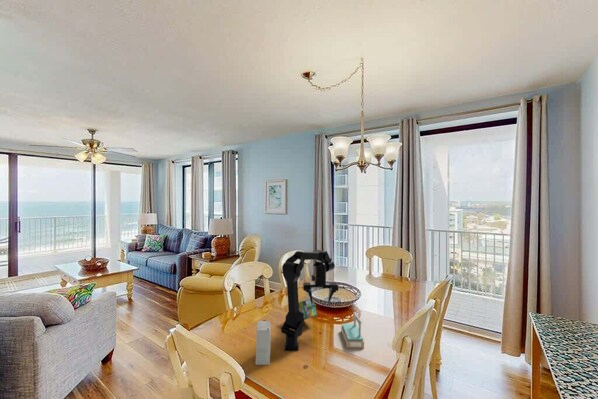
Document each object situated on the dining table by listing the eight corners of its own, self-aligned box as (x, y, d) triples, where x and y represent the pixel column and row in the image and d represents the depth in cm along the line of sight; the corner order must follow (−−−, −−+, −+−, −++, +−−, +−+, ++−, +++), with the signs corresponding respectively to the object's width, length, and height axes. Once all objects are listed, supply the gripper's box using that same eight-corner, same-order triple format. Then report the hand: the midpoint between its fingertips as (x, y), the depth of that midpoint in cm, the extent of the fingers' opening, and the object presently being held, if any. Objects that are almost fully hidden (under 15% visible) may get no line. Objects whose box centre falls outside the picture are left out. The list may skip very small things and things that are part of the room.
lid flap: (363, 340, 124) (363, 323, 124) (348, 340, 124) (348, 323, 124) (356, 325, 139) (356, 310, 140) (342, 325, 139) (342, 310, 139)
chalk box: (292, 323, 146) (311, 317, 137) (288, 306, 150) (306, 299, 141) (303, 320, 152) (322, 314, 144) (299, 304, 156) (317, 297, 148)
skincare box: (256, 354, 117) (257, 320, 117) (270, 353, 118) (270, 320, 118) (255, 365, 109) (255, 329, 109) (270, 365, 110) (270, 329, 110)
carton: (364, 348, 124) (364, 341, 124) (347, 347, 124) (347, 341, 124) (356, 331, 140) (356, 325, 140) (341, 331, 140) (341, 325, 140)
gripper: (335, 269, 151) (334, 297, 151) (302, 269, 151) (302, 297, 150) (338, 275, 140) (338, 304, 140) (303, 275, 139) (303, 304, 139)
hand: (320, 302), depth 143 cm, fingers open, 9 cm apart
